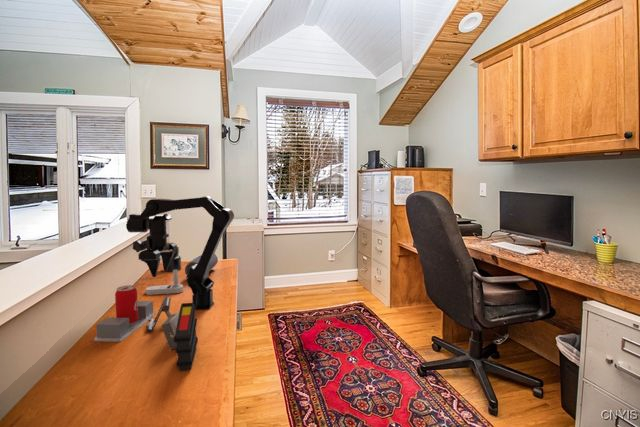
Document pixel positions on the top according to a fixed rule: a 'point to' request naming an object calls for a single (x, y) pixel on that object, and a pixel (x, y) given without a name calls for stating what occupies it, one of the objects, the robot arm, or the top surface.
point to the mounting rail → (132, 328)
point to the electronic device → (166, 287)
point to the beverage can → (127, 303)
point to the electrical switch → (171, 329)
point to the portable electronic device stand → (163, 308)
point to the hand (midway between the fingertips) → (160, 273)
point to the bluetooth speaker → (196, 260)
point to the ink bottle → (175, 262)
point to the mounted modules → (122, 322)
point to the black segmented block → (186, 336)
